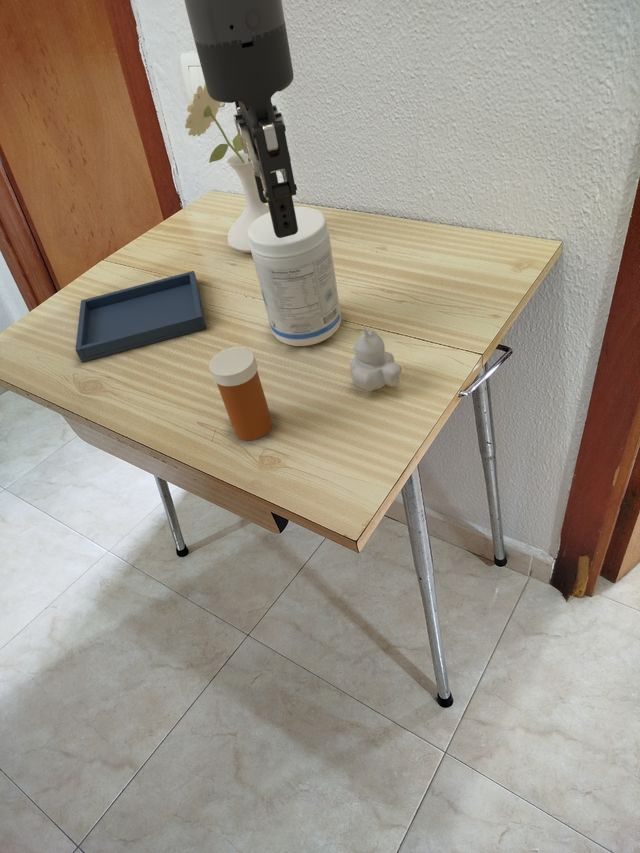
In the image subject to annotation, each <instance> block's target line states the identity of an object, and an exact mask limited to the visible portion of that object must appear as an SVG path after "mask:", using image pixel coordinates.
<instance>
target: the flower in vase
mask: <svg viewBox="0 0 640 853" xmlns="http://www.w3.org/2000/svg"><path fill="white" fill-rule="evenodd" d="M192 99H193V100H192V103H190V104H188V105H187V108H186V110H187V112H188V113H189V114H188V115H187V117H186V118H185V125H184V128H185V129H188V136H192V137H195V136H197V137H200V136H201V135H204V134H206V132H207V130H209V129H210V128H211V125H212V123H215V124H216V126H217V127H218V130H219V131H220V133H221V134H222V136H223V138H224V140H225V142H226V143H220V144H218V145H217V146H216V147H215V148H214V149H213V150H212V152H211V154H210V156H209V164H210V163H213V162H219V161H220V160H222V159H224V157H225V155H226V153H227V151H228V149H229V147H230V149H231V150H232V151H233V152H234V153H235V154H233V155H231V156H230V157H229V158H228V159H227V160H226V162H227V164H228V165H229V166H230V167H231V168H232V169H233V170H234V171H235V173H236V174H237V177H238V178H239V180H240V184H241V186H242V189H243V192H244V197H245V208H244V210H243V211H242V213H241V214H240V215H239V217H237V219H236V220H235V221H234V223H233V224H232V225H231V227H230V228H229V231H228V234H227V244H228V245H229V246H230V247H231V248H232V249H234V250H235V251H238V252H241V253H245V254H247V253H249V254H252V253H251V249H250V245H249V236H248V229H249V227H250V226H251V224H252V223H253V222H254V221H255V220H256V219H258V218H259V217H261V216H262V215H264V214H267V213H269V212H270V210H269V206H268V204H266V203H262V202H261V200H260V198H259V194H258V190H257V185H256V181H255V177H254V173H253V169H252V166H251V164H250V162H248V158H247V157H248V154H246V153H244V151H243V147H242V144H241V140H240V135H239V134H238V133H237V134H236V135H235V136H234V137H233V139H232V143H231V142H230V140H229V139H228V137H227V134H226V133H225V132H224V130H223V128H222V126H221V125H220V123H219V122H218V119H217V118H216V117H217V114H218V113H219V108H220V106H221V103H222V102H218V101H215V100H214V99H212V98H211V97H210V96H209V94H208V91H207V87H206V83H205V82H204V84H203V86H201V85H198V86H197V88H196V93H194V94H193V98H192Z"/></svg>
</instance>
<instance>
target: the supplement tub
mask: <svg viewBox="0 0 640 853" xmlns="http://www.w3.org/2000/svg"><path fill="white" fill-rule="evenodd" d="M294 210H295V215H296V220H297V226H298V232H297V233H296V234H294V235H291V236H287V237H283V238H278V237H277V236H276V235H275V232H274V229H273V224H272V220H271V215H270V212H269V213H267V214H264V215H262V216H261V217H259V218H258V219H256V220H255V221H254V222H253V223H252V224H251V226H250V227H249V229H248V236H249V245H250V249H251V253H250V254H251V257H252V260H253V265H254V269H255V272H256V275H257V276H256V277H257V280H258V285H259V287H260V291H261V292H260V293H261V295H262V299H263V303H264V307H265V311H266V316H267V319H268V323H269V326H270V330H271V333H272V335H273V336H274V337H275V338H276V339H277V340H278V341H279V342H281V343H283V344H285V345H289V346H293V347H305V346H312V345H315V344H319V343H322V342H324V341H325V340H327V339H329V338H330V337H332V336H333V335H334V334H335V333H336V332H337V331H338V329H339V328H340V326H341V323H342V314H341V312H342V311H341V306H340V305H341V304H340V299H339V292H338V286H337V278H336V271H335V264H334V259H333V252H332V244H331V238H330V232H329V227H328V225H327V220H326V216H325V214H324V213H323V212H322V211H320V210H318V209H317V208H313V207H309V206H298V205H297V206H294Z"/></svg>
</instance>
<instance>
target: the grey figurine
mask: <svg viewBox="0 0 640 853" xmlns="http://www.w3.org/2000/svg"><path fill="white" fill-rule="evenodd" d="M352 349H353V350H354V355H355V356H354V357H353V358H351V360H350V362H349V370H350V375H351V379H352V381H353V383H354V385H355V386H356V387H357V388H359V389H361V390H363V391H366V392H372V391H376V390H379V389H382V388H383V387H385V386H388V387H397V386H398V385H400V383H401V379H400V375H401V373H402V366H401V365H400V364H399V363H396V362H395V357H394V354H392V353H391V352H388V351H386V350H385V344H384V340H383V338H382V337H381V336H380V335H379V334H377V332H376V331H375V330H373V329H371V330H369V331H368V330H367V328H366V326H363V334H361V335H360V336H359V337H358V339H357V342H355V343H354V345H353V347H352Z"/></svg>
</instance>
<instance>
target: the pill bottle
mask: <svg viewBox="0 0 640 853" xmlns="http://www.w3.org/2000/svg"><path fill="white" fill-rule="evenodd" d="M255 356H256V355H255V353H254V351H252V349H250V348H248V347H245V346H241V345H240V346H232V347H231V346H230V347H227V348H224V349H222V350H220V351H218V352H217V353H215V354H214V355H213V356H212V357H211V359H210V361H209V364H208V367H209V368H208V369H209V371H210V373H211V377H212V379H213V381H214V382H215V383H216V385H217V389H218V391H219V394H220V397H221V400H222V402H223V405H224V408H225V410H226V413H227V415H228V418H229V422H230V424H231V427H232V429H233V433H234V435H235V436H236V437H237V438H238V439H240V440H242V441H255V440H258V439H261V438H263V437H265V436H266V435H267V434H268V433H270V431H271V430H272V427H273V419H272V416H271V413H270V412H271V411H270V409H269V405H268V402H267V399H266V396H265V392H264V389H263V385H262V381H261V379H260V375H259V372H258V363H257V359H256V357H255Z"/></svg>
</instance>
